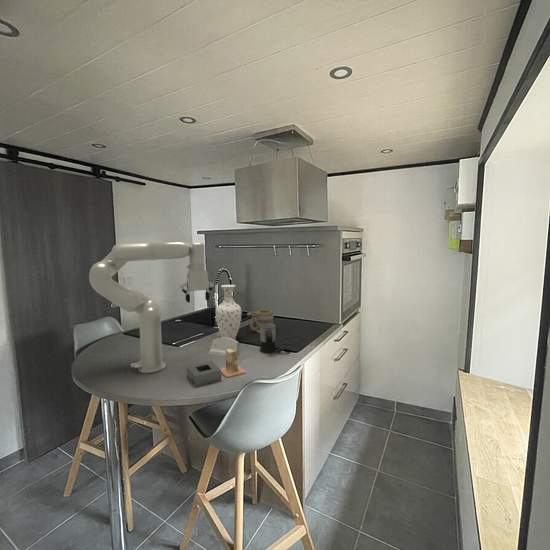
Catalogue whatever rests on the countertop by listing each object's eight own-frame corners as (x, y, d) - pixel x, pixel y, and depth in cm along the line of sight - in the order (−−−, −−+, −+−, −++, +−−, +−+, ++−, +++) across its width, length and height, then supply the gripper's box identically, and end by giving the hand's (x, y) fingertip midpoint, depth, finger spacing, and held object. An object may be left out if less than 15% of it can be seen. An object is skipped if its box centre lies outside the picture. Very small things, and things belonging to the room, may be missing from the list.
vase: (211, 343, 185) (210, 286, 181) (223, 335, 201) (222, 283, 197) (234, 346, 180) (234, 288, 176) (245, 337, 196) (245, 284, 192)
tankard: (268, 327, 219) (268, 307, 218) (277, 332, 208) (277, 310, 207) (243, 331, 210) (243, 310, 208) (250, 336, 199) (250, 314, 197)
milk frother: (257, 349, 176) (257, 324, 174) (281, 345, 183) (281, 321, 181) (267, 357, 163) (267, 331, 162) (292, 353, 170) (293, 327, 168)
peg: (229, 373, 142) (229, 352, 141) (225, 369, 146) (225, 349, 145) (238, 370, 144) (238, 350, 143) (234, 367, 148) (234, 347, 147)
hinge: (208, 353, 168) (211, 335, 170) (212, 353, 172) (215, 336, 174) (235, 357, 162) (237, 339, 164) (238, 357, 167) (241, 339, 169)
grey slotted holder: (194, 387, 130) (194, 376, 129) (187, 376, 140) (186, 366, 139) (221, 380, 136) (221, 370, 135) (211, 370, 146) (211, 361, 146)
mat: (226, 378, 138) (226, 376, 138) (218, 370, 147) (218, 368, 147) (246, 373, 144) (246, 371, 144) (237, 365, 152) (237, 364, 152)
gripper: (181, 268, 143) (182, 304, 145) (216, 267, 152) (216, 300, 154) (177, 267, 149) (178, 301, 151) (211, 266, 158) (211, 298, 160)
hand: (197, 301), depth 152 cm, fingers open, 9 cm apart
